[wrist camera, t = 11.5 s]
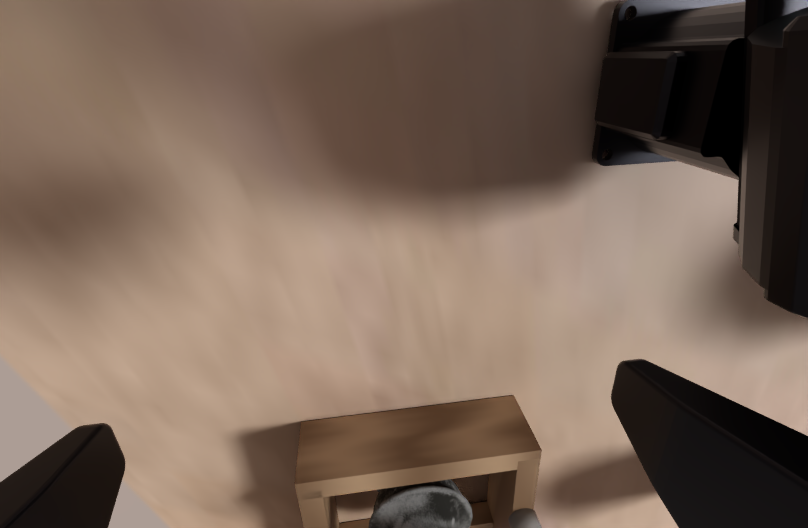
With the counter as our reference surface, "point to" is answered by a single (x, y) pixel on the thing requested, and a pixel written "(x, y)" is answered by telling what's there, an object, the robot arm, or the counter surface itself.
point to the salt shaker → (422, 507)
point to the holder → (421, 458)
